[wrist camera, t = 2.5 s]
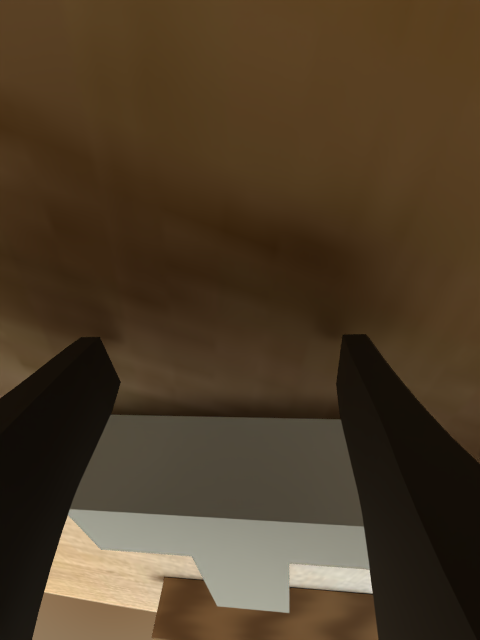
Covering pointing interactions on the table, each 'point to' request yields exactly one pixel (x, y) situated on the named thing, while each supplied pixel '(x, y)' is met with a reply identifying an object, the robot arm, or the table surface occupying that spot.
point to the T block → (226, 499)
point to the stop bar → (262, 616)
